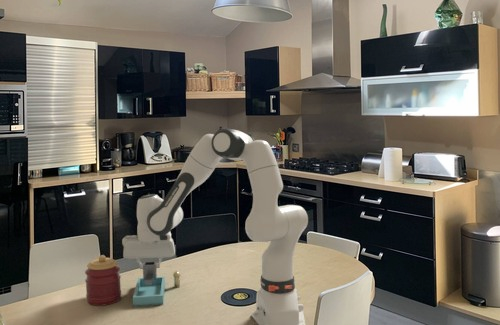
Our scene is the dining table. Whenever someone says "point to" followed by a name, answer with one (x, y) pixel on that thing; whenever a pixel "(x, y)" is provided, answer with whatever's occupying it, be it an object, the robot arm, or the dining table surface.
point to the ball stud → (176, 279)
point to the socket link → (149, 272)
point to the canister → (103, 281)
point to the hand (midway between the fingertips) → (149, 268)
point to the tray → (149, 292)
